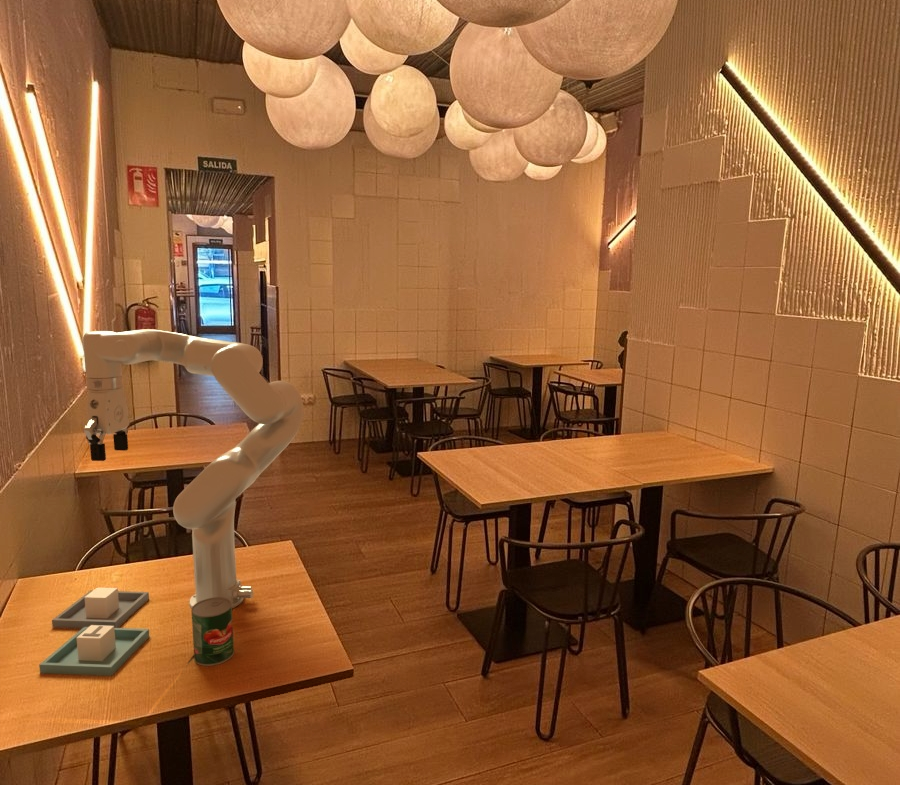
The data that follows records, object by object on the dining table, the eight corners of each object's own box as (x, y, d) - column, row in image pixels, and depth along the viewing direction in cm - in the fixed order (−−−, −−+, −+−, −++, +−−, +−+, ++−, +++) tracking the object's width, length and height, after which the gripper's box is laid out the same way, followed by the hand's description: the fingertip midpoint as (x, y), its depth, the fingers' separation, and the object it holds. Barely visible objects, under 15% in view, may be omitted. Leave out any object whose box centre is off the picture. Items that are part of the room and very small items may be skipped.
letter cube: (115, 647, 138) (114, 625, 137) (102, 661, 133) (100, 637, 132) (93, 647, 138) (91, 624, 137) (78, 660, 133) (76, 637, 132)
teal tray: (149, 639, 142) (148, 628, 142) (111, 678, 128) (110, 667, 127) (85, 636, 143) (84, 626, 143) (40, 675, 129) (39, 664, 128)
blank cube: (119, 607, 155) (117, 588, 154) (107, 618, 150) (105, 597, 149) (98, 607, 155) (97, 587, 154) (86, 617, 150) (84, 597, 149)
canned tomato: (220, 668, 131) (217, 617, 130) (186, 663, 133) (182, 613, 131) (241, 647, 139) (238, 599, 137) (208, 643, 141) (205, 595, 139)
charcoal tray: (149, 601, 159) (148, 592, 159) (115, 632, 145) (115, 622, 145) (91, 599, 160) (90, 590, 160) (52, 630, 146) (51, 620, 145)
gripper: (99, 390, 143) (105, 465, 146) (139, 379, 160) (144, 446, 163) (66, 389, 144) (72, 464, 146) (109, 378, 161) (114, 446, 163)
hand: (110, 455), depth 155 cm, fingers open, 9 cm apart
